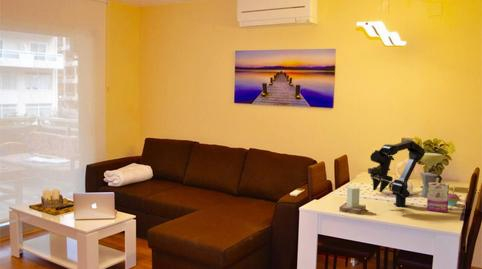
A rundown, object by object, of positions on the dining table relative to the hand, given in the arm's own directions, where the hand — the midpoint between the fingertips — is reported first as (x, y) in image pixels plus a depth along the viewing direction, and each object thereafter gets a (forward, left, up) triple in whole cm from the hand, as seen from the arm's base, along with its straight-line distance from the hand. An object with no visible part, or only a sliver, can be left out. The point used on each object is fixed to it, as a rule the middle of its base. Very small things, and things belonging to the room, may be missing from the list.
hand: (377, 191), depth 260 cm
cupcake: (-15, +49, -11) cm, 53 cm away
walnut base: (+2, -14, -11) cm, 18 cm away
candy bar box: (-1, +35, -12) cm, 37 cm away
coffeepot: (-34, +43, -11) cm, 56 cm away
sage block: (+2, -14, -9) cm, 17 cm away
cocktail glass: (-61, +52, -11) cm, 81 cm away
